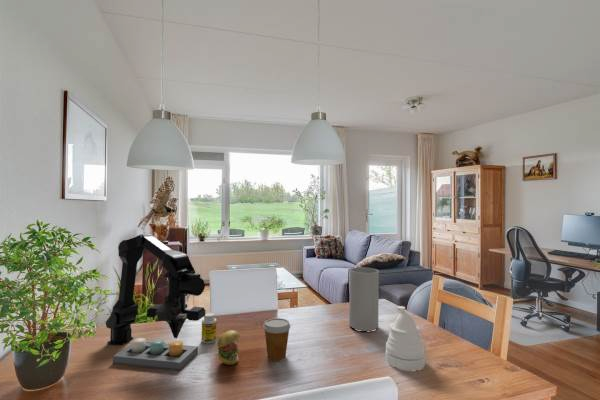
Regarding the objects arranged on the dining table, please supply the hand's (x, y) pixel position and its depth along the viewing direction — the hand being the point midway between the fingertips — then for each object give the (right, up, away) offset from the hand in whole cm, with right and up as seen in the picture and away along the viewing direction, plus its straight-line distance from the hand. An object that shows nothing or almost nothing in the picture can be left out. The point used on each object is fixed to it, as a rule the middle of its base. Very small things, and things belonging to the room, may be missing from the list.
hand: (175, 337), depth 109 cm
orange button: (0, -5, 0) cm, 5 cm away
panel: (-7, -8, +1) cm, 10 cm away
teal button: (-7, -5, +1) cm, 9 cm away
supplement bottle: (+7, -8, +16) cm, 19 cm away
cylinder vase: (+70, -9, +32) cm, 78 cm away
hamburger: (+18, -8, -1) cm, 20 cm away
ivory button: (-14, -5, +2) cm, 15 cm away
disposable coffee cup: (+34, -8, +3) cm, 35 cm away
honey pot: (+78, -9, +1) cm, 79 cm away
